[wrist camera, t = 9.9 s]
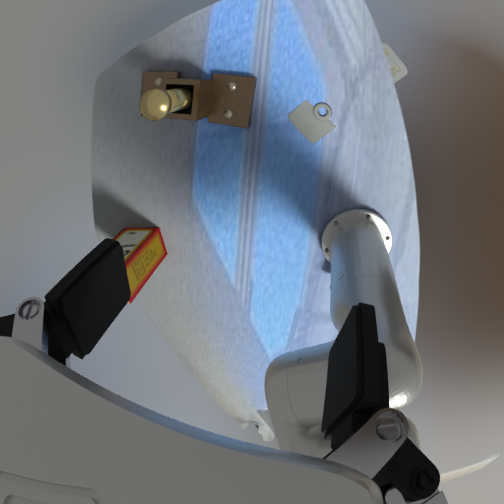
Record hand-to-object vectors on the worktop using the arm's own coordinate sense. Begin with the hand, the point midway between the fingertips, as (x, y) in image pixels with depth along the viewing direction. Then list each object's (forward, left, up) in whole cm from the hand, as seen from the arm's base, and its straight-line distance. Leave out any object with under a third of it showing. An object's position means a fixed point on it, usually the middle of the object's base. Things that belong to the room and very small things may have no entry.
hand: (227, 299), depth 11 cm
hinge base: (+3, +17, -36) cm, 40 cm away
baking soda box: (-28, +27, -36) cm, 53 cm away
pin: (+3, +17, -36) cm, 40 cm away
